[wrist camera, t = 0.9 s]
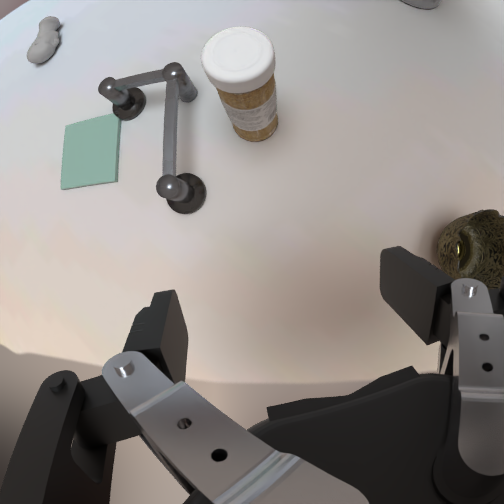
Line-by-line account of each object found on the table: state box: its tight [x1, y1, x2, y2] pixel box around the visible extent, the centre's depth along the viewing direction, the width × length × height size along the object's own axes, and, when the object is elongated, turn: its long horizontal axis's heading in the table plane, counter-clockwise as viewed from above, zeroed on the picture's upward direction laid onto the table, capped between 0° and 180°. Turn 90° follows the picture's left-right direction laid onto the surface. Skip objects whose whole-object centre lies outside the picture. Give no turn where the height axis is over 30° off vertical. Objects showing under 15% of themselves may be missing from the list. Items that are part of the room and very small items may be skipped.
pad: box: [61, 113, 121, 190], centre depth 31 cm, size 8×8×1 cm
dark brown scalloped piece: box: [437, 210, 504, 290], centre depth 24 cm, size 8×7×8 cm
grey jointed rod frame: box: [98, 62, 206, 214], centre depth 27 cm, size 15×11×6 cm
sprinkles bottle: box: [201, 27, 278, 142], centre depth 22 cm, size 5×5×13 cm
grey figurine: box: [27, 16, 60, 64], centre depth 29 cm, size 4×8×5 cm
